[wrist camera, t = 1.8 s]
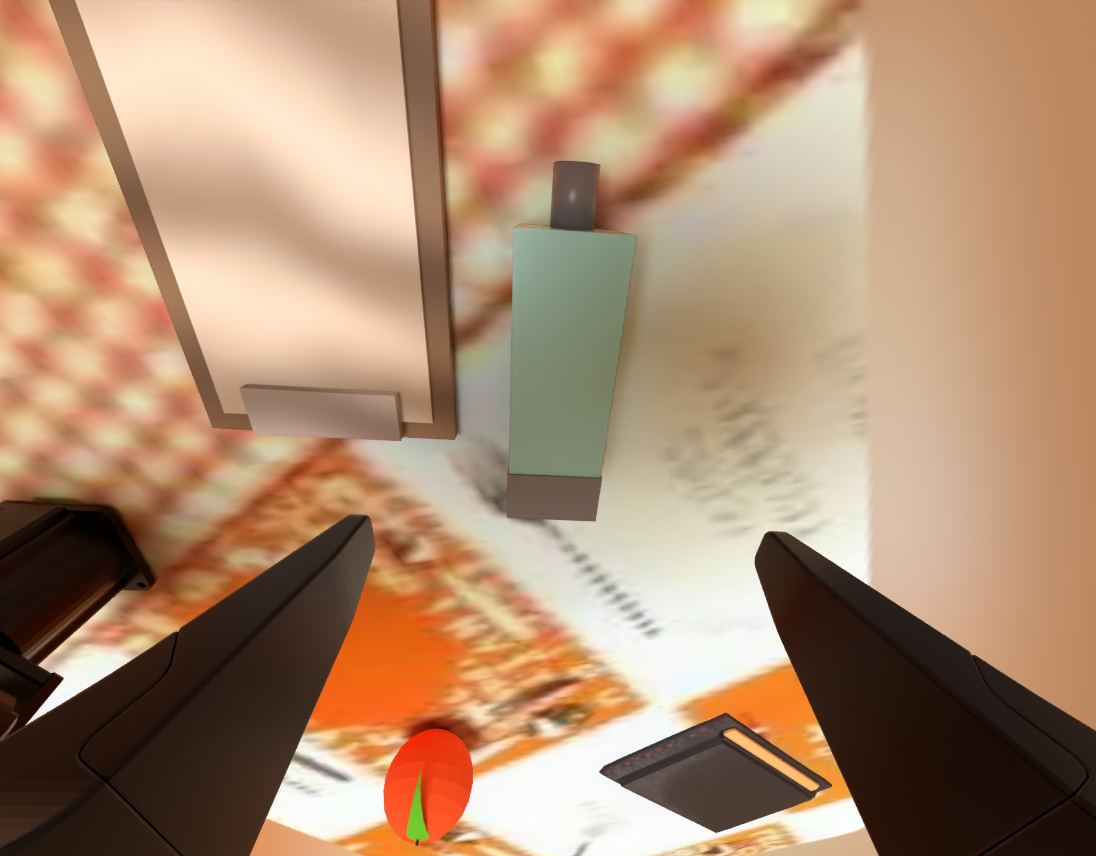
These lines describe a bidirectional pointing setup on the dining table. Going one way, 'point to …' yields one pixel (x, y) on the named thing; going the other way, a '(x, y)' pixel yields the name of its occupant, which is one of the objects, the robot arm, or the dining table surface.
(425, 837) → the clementine
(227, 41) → the clipboard
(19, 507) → the robot arm
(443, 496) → the dining table surface
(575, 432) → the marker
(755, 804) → the black notebook
